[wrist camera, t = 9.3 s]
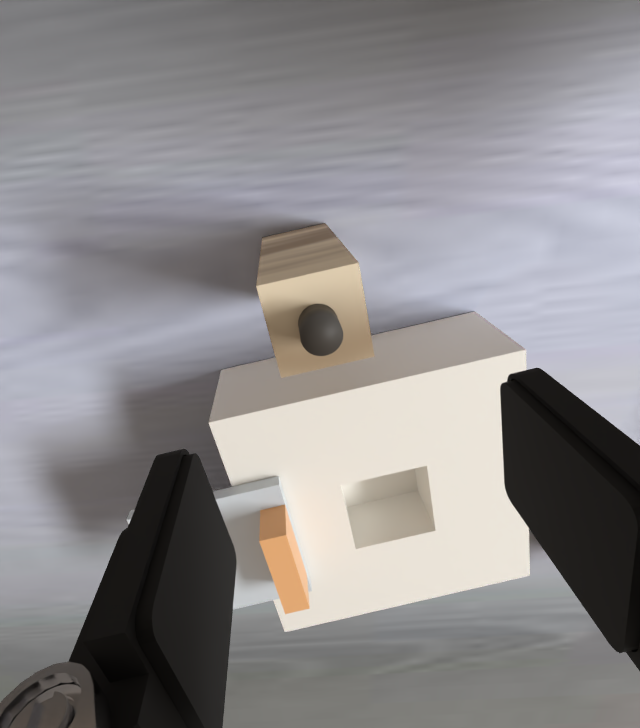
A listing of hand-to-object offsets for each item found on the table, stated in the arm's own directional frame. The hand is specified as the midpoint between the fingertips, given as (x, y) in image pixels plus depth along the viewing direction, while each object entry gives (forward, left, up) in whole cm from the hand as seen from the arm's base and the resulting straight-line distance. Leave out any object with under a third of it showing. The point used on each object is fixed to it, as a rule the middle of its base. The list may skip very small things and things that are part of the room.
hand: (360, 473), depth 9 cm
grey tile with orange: (+15, -9, -15) cm, 23 cm away
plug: (0, 0, -22) cm, 22 cm away
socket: (+15, +2, -22) cm, 26 cm away
